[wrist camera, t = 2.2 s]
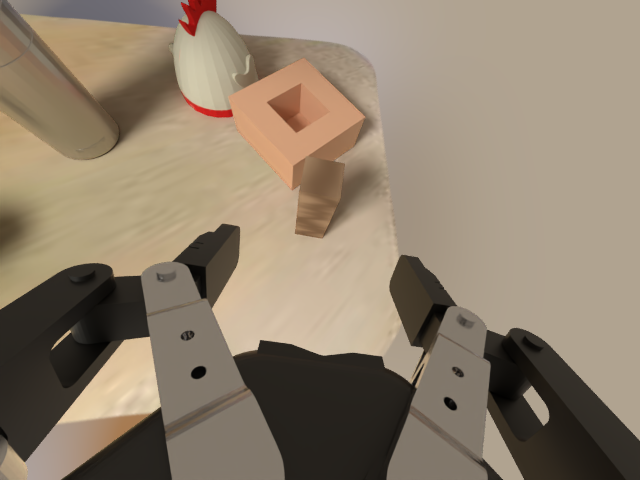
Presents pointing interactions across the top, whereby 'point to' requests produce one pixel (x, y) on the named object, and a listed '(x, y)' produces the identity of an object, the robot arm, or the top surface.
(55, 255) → the top surface
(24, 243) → the top surface
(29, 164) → the top surface
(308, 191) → the walnut bar
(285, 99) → the terracotta well block
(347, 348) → the top surface
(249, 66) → the kitchen timer
